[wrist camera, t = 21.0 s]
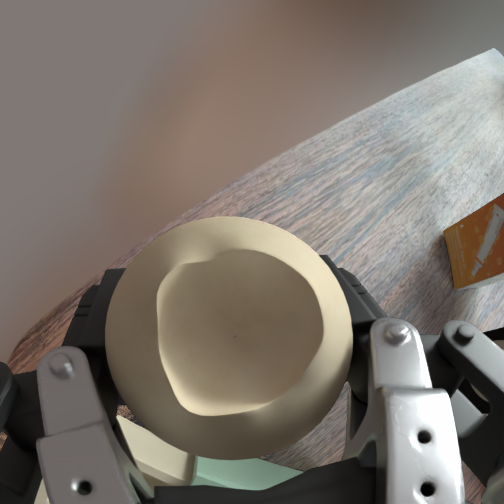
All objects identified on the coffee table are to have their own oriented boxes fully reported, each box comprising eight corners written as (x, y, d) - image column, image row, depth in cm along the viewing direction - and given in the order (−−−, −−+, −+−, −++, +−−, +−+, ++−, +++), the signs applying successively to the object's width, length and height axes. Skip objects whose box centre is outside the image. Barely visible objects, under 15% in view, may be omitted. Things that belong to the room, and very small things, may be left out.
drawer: (30, 455, 20) (-11, 474, 12) (60, 368, 24) (17, 370, 16) (179, 537, 20) (174, 581, 12) (224, 455, 23) (230, 489, 16)
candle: (228, 423, 13) (266, 531, 4) (138, 351, 14) (26, 341, 4) (297, 336, 15) (428, 303, 6) (210, 267, 16) (219, 137, 6)
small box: (441, 230, 35) (510, 185, 23) (470, 232, 36) (535, 192, 24) (453, 292, 32) (532, 262, 20) (482, 288, 33) (554, 260, 21)
